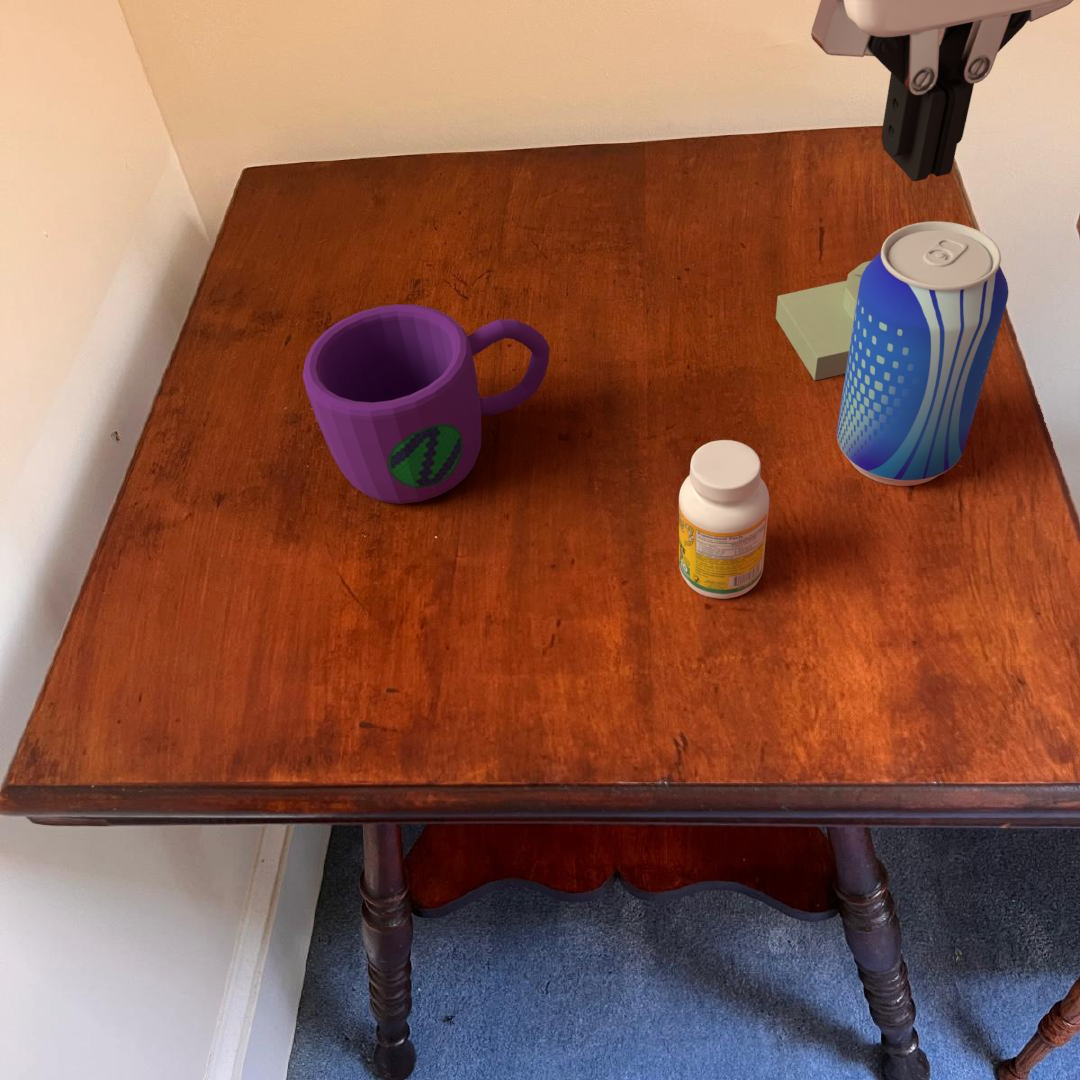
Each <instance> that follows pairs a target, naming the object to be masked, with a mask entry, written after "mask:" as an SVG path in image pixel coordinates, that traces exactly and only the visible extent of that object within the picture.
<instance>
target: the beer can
mask: <svg viewBox="0 0 1080 1080" xmlns="http://www.w3.org/2000/svg"><path fill="white" fill-rule="evenodd" d="M870 261H871V262H870V263H869V264H868V266H867V267H866V268H865V270H864V272H863V274H862V277H861V280H860V285H859V291H858V298H857V304H856V310H855V317H854V323H853V329H852V336H851V342H850V348H849V355H848V361H847V367H846V374H844V380H843V388H842V393H841V400H840V406H839V412H838V419H837V425H836V440H837V444H838V446H839V448H840V450H841V452H842V453H843V455H844V456H845V457H846V458H847V460H848V461H849V462H850V464H851V465H852V466H853V468H854V469H856V470H857V471H858V472H859V473H860V474H862V476H865V477H866V478H869V479H871V480H873V481H875V482H877V483H879V484H880V483H881V484H884V485H889V486H895V487H911V486H917V485H922V484H924V483H927V482H930V481H932V480H934V479H936V478H937V477H938V476H941V475H942V474H945V473H946V472H948V471H949V470H951V469H952V468H954V467H955V465H956V464H957V463H958V462H959V461H960V460H961V458H962V456H963V454H964V451H965V448H966V445H967V441H968V437H969V434H970V430H971V427H972V424H973V420H974V417H975V413H976V410H977V408H978V407H977V406H978V403H979V399H980V396H981V393H982V389H983V386H984V382H985V379H986V376H987V372H988V370H989V369H988V368H989V365H990V362H991V358H992V356H993V352H994V348H995V345H996V341H997V339H998V334H999V331H1000V327H1001V324H1002V320H1003V317H1004V315H1005V314H1004V313H1005V310H1006V307H1007V303H1008V300H1009V286H1008V281H1007V278H1006V276H1005V274H1004V272H1003V270H1002V267H1001V262H1002V255H1001V251H1000V248H999V247H998V245H997V243H996V242H995V241H994V240H993V239H992V238H991V237H989V235H987V234H985V233H984V232H982V231H980V230H978V229H976V228H973V227H971V226H968V225H966V224H965V225H964V224H961V223H957V222H950V221H922V222H917V223H912V224H909V225H905V226H903V227H900V228H899V229H896V230H895V231H894V232H892V233H891V234H890V235H889V236H887V237H886V239H885V240H884V241H883V243H882V246H881V250H880V252H878V254H877V255H876V256H875V257H874V258H873V259H872V260H870Z"/></svg>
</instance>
